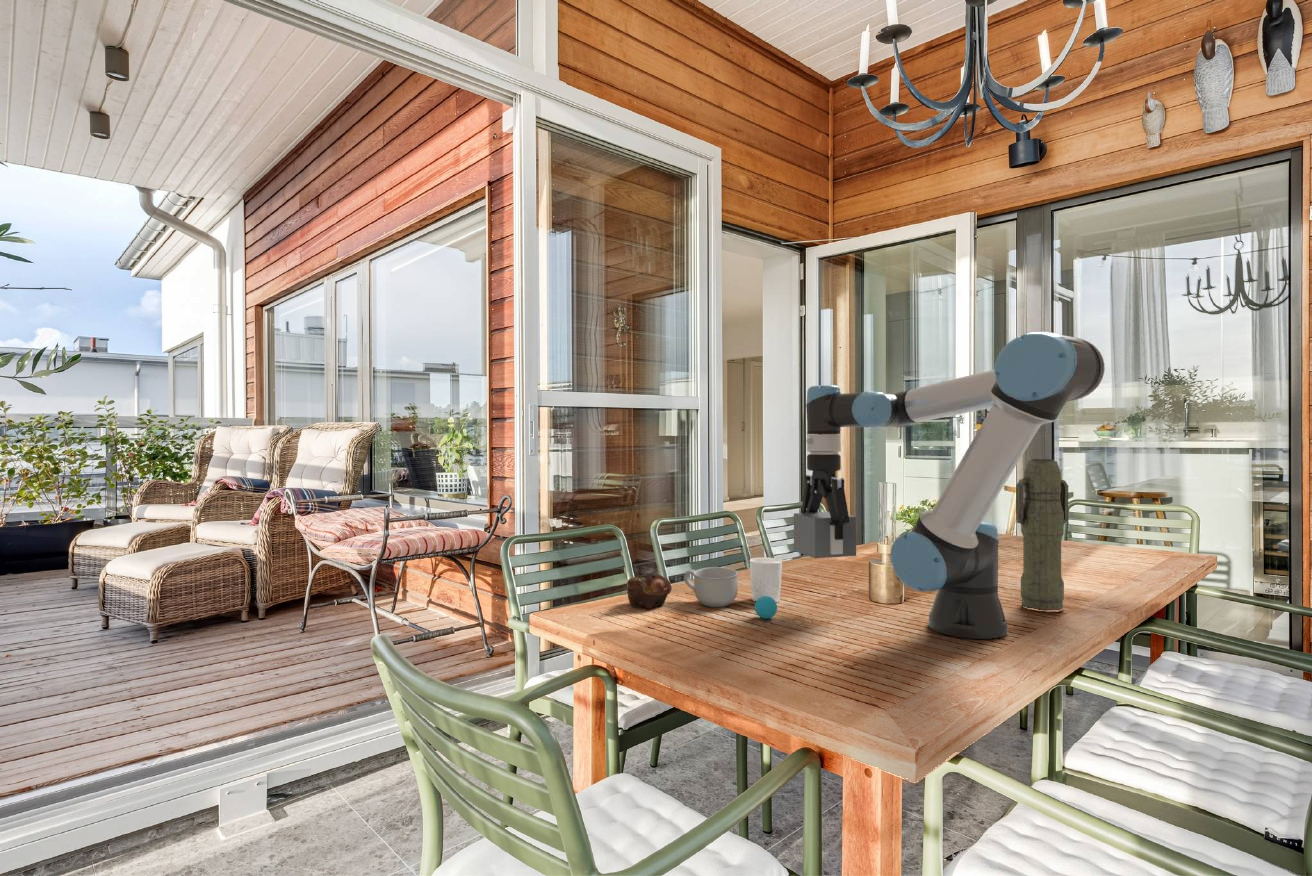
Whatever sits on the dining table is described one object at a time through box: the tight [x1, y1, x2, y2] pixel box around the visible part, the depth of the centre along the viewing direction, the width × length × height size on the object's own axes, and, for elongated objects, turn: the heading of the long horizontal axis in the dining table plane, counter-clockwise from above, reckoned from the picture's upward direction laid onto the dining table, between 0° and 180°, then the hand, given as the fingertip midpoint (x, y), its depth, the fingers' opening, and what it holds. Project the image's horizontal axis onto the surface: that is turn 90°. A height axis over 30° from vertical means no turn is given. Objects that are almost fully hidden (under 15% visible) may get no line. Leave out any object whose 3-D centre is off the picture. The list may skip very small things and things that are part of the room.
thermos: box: [1015, 458, 1069, 610], centre depth 167 cm, size 9×12×35 cm
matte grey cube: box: [793, 511, 857, 559], centre depth 162 cm, size 10×10×9 cm
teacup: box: [683, 566, 739, 608], centre depth 173 cm, size 14×11×8 cm
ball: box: [754, 596, 778, 620], centre depth 159 cm, size 5×5×5 cm
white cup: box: [749, 556, 783, 603], centre depth 176 cm, size 8×8×10 cm
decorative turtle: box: [626, 572, 673, 610], centre depth 171 cm, size 10×15×8 cm, turn 147°
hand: (824, 550), depth 163 cm, fingers closed on matte grey cube, 10 cm apart
